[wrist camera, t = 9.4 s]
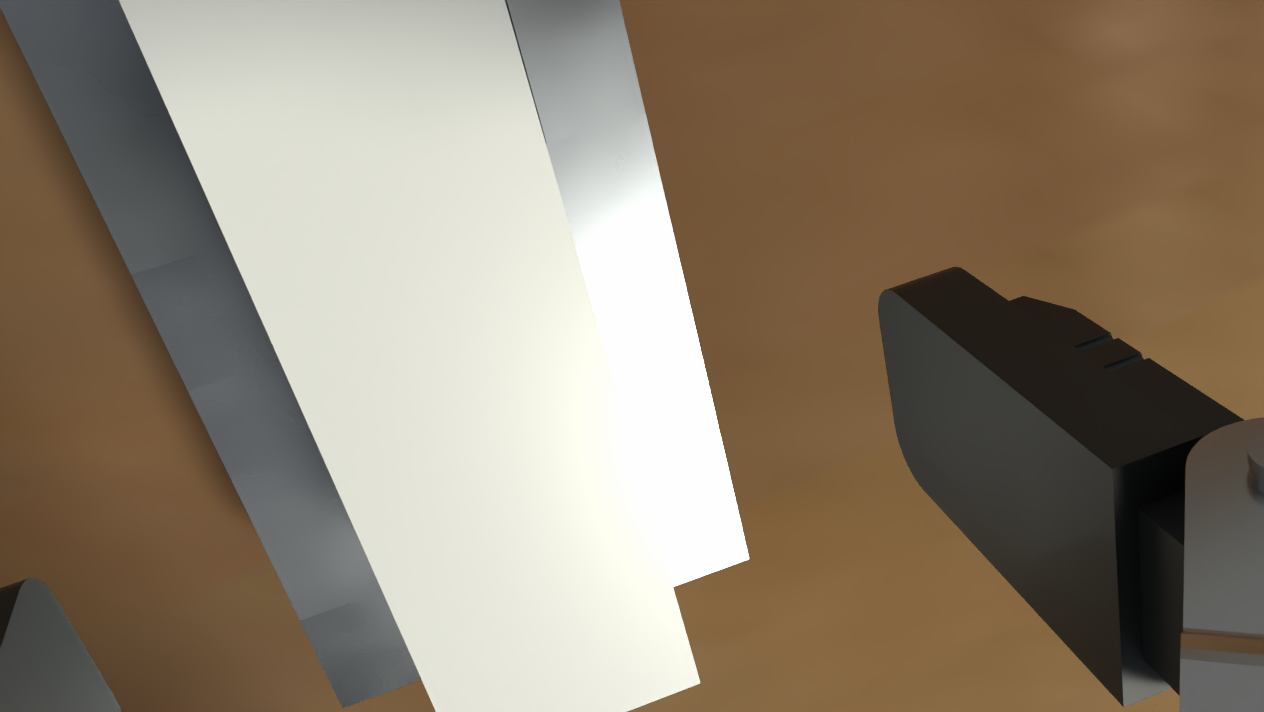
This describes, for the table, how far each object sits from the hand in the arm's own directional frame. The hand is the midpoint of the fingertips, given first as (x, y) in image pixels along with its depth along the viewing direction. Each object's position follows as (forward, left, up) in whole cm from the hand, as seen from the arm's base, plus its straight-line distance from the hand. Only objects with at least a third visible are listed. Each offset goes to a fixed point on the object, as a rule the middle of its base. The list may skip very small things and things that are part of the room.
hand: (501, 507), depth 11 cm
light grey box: (0, 0, -9) cm, 9 cm away
